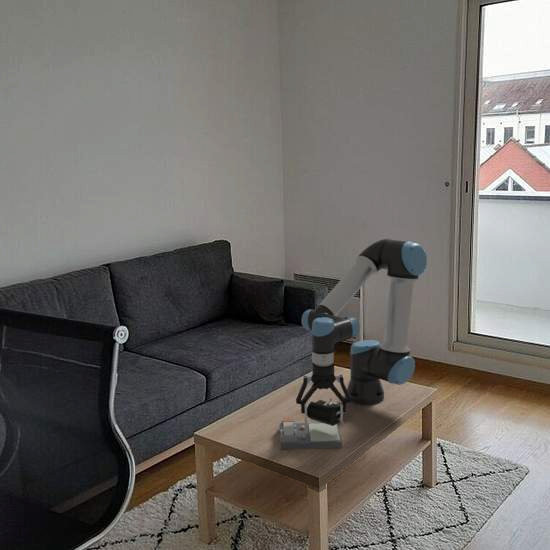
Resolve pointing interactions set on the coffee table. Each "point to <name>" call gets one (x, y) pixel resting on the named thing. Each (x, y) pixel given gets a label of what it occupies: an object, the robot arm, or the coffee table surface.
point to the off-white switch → (288, 428)
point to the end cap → (323, 412)
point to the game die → (334, 403)
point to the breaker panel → (311, 436)
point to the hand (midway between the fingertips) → (323, 421)
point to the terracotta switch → (287, 419)
